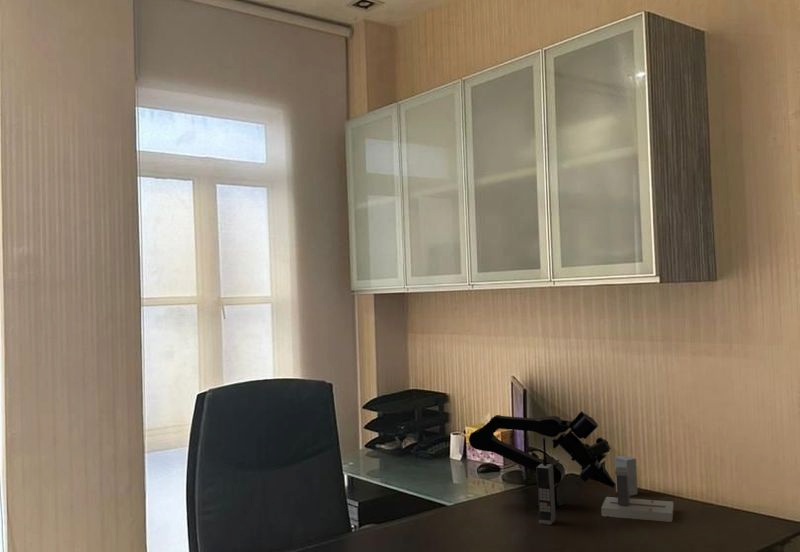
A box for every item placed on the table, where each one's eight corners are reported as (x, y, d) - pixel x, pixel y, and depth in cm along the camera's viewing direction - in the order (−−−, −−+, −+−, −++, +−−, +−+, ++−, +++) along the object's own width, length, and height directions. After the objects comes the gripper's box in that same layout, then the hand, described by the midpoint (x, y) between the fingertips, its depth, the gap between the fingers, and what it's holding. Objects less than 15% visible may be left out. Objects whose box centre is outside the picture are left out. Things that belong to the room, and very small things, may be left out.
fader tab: (616, 504, 216) (615, 471, 216) (618, 499, 221) (617, 466, 222) (629, 505, 215) (627, 472, 215) (630, 500, 220) (629, 467, 220)
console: (601, 516, 215) (601, 507, 215) (606, 504, 226) (606, 496, 226) (672, 522, 207) (671, 513, 207) (673, 509, 218) (673, 501, 218)
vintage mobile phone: (538, 523, 210) (534, 439, 211) (543, 518, 214) (539, 436, 215) (551, 525, 208) (547, 440, 209) (555, 520, 213) (551, 436, 213)
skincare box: (615, 492, 239) (613, 456, 239) (625, 490, 241) (623, 454, 241) (628, 496, 234) (626, 460, 234) (638, 494, 235) (636, 458, 236)
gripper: (588, 437, 213) (629, 476, 208) (597, 425, 230) (635, 461, 226) (564, 462, 216) (603, 501, 211) (574, 449, 233) (610, 484, 228)
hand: (614, 486), depth 219 cm, fingers closed
